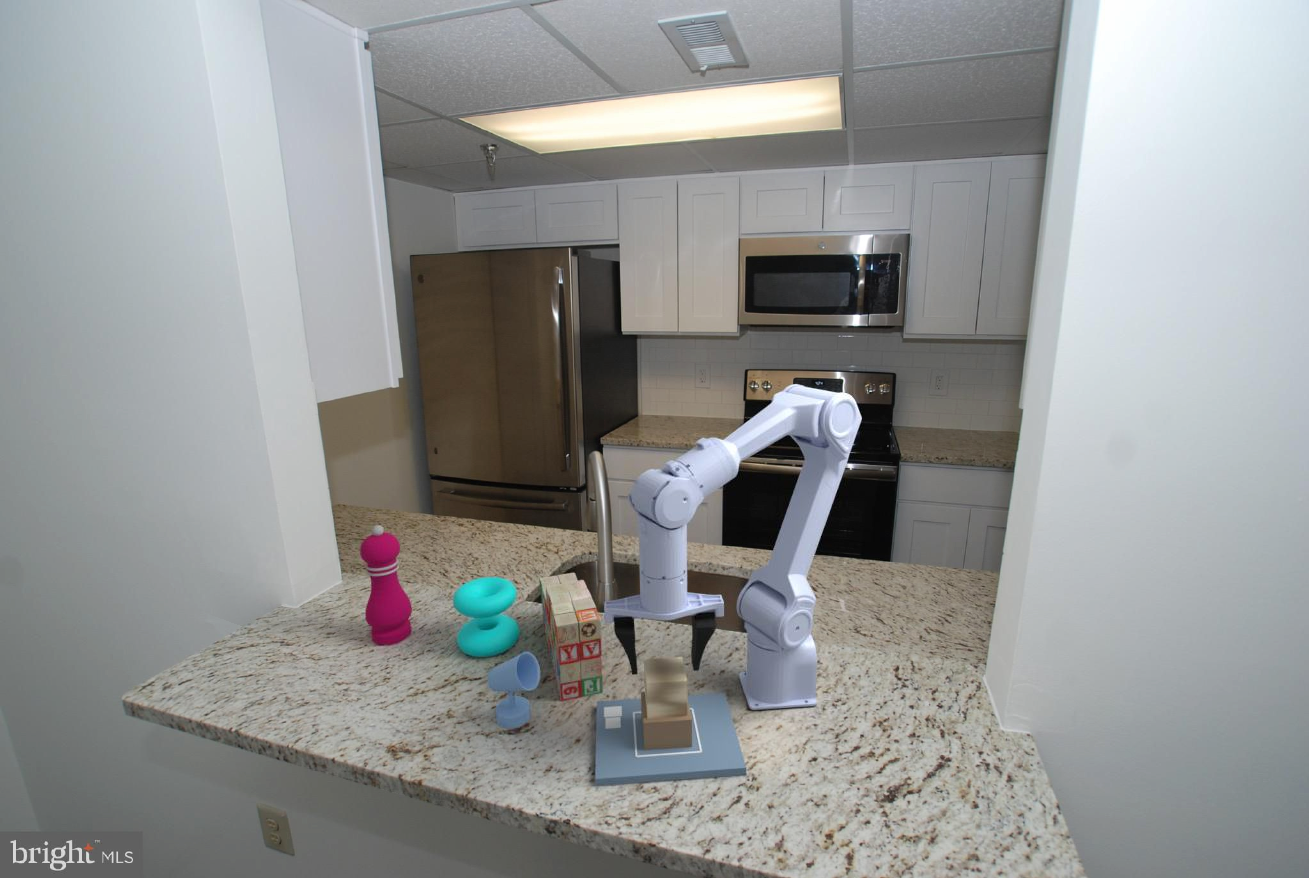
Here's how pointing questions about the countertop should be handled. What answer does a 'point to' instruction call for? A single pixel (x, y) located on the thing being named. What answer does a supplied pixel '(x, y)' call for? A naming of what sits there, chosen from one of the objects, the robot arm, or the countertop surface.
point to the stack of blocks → (572, 635)
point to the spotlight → (514, 688)
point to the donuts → (486, 616)
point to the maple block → (665, 687)
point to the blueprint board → (669, 766)
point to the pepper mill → (385, 589)
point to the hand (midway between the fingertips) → (664, 667)
